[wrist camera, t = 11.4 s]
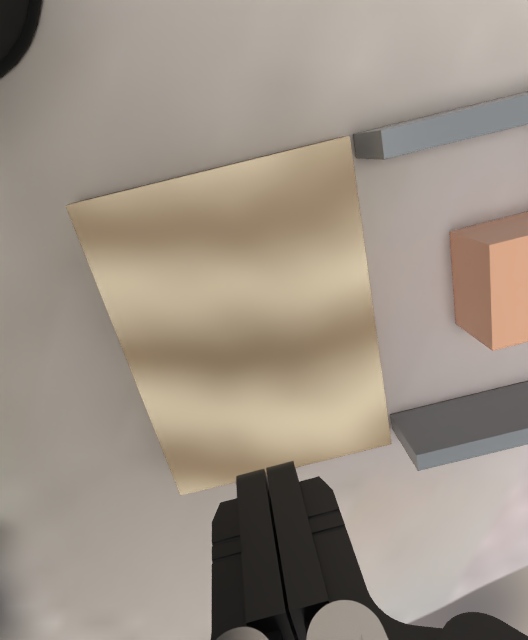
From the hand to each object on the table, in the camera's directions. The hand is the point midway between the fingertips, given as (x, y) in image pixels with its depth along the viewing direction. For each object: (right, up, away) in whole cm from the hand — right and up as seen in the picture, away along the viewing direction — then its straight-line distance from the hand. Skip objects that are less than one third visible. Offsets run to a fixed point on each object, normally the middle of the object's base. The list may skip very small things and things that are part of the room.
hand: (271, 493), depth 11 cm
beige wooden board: (-1, +4, +11) cm, 11 cm away
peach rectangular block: (+12, +7, +11) cm, 18 cm away
